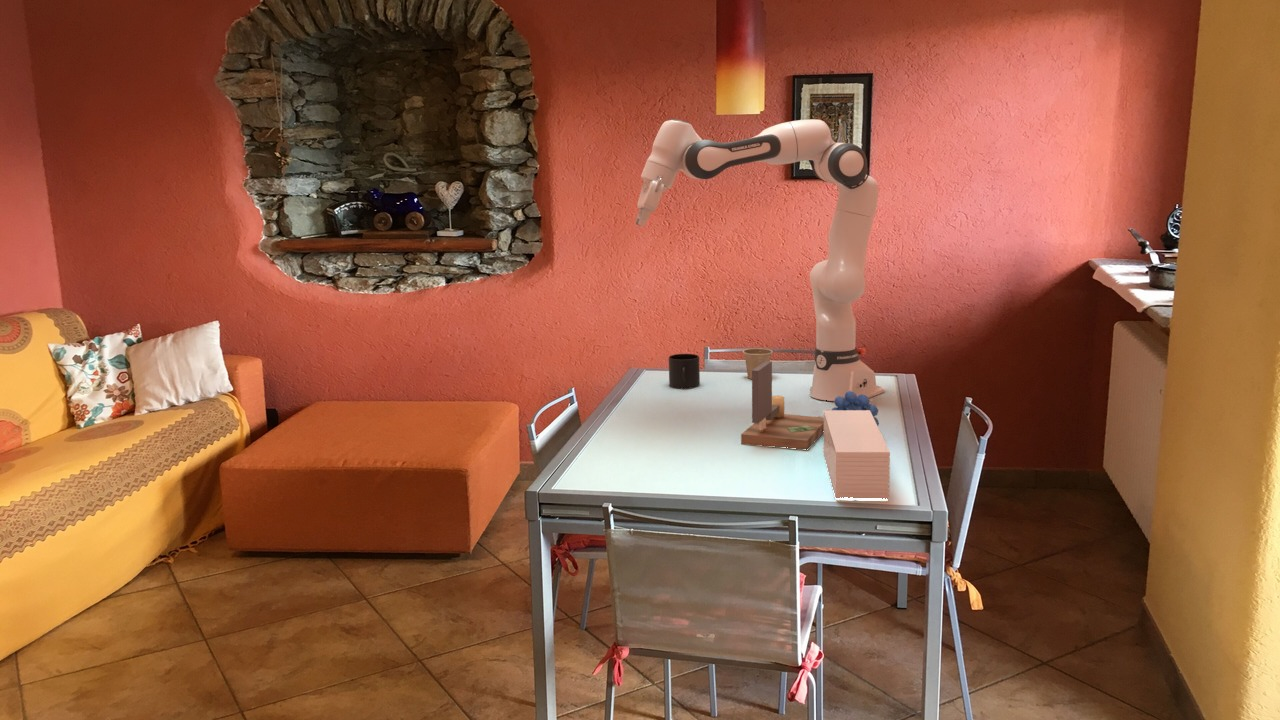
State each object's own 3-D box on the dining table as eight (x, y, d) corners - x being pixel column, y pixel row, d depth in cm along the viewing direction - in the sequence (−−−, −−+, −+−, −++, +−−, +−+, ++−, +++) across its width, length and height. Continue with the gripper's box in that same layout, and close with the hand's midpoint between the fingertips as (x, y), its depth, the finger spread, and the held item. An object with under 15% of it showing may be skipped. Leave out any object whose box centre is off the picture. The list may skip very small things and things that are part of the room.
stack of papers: (888, 502, 196) (890, 452, 194) (835, 502, 197) (836, 452, 195) (869, 454, 227) (870, 410, 225) (823, 454, 228) (823, 410, 226)
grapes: (832, 443, 236) (832, 395, 233) (830, 435, 242) (830, 388, 240) (880, 443, 234) (881, 395, 232) (877, 435, 241) (878, 388, 238)
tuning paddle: (773, 413, 253) (773, 353, 249) (785, 414, 252) (785, 353, 248) (749, 435, 235) (748, 370, 231) (761, 436, 233) (761, 371, 230)
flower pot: (778, 376, 305) (778, 350, 304) (761, 382, 299) (761, 355, 297) (754, 373, 312) (753, 347, 310) (736, 378, 305) (736, 352, 303)
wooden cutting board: (766, 421, 256) (766, 411, 255) (828, 427, 249) (828, 417, 248) (741, 443, 237) (741, 433, 236) (806, 450, 230) (807, 439, 230)
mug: (668, 391, 292) (667, 362, 290) (669, 381, 303) (669, 353, 301) (699, 390, 291) (699, 361, 289) (699, 381, 303) (699, 353, 301)
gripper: (673, 180, 250) (654, 230, 251) (664, 182, 270) (646, 229, 272) (650, 170, 249) (631, 221, 251) (643, 174, 269) (625, 221, 271)
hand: (639, 225), depth 261 cm, fingers open, 8 cm apart
